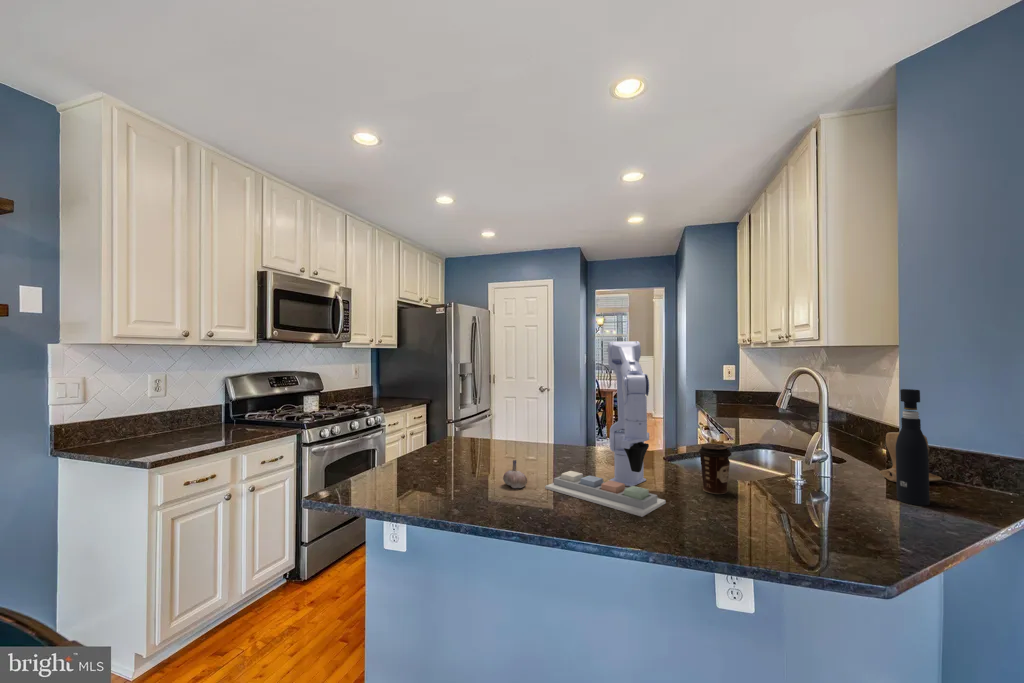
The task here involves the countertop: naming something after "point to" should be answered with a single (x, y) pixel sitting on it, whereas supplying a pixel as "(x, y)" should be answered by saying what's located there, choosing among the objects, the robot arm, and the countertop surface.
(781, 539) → the countertop surface
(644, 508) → the keypad
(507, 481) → the garlic bulb
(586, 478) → the slate key
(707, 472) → the coffee cup
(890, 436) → the wooden stand
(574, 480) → the cream key
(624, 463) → the robot arm
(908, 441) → the black water bottle
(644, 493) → the sage key
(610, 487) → the terracotta key
